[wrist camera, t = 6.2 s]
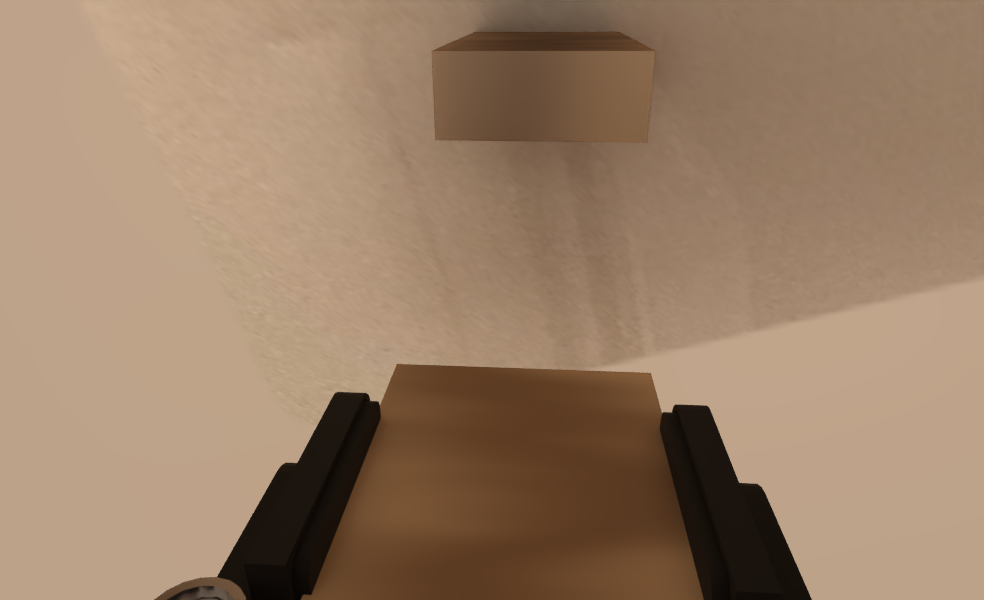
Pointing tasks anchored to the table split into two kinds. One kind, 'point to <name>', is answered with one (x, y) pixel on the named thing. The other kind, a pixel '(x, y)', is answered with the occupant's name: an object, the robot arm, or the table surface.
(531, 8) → the table surface
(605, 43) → the domino
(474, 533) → the domino
